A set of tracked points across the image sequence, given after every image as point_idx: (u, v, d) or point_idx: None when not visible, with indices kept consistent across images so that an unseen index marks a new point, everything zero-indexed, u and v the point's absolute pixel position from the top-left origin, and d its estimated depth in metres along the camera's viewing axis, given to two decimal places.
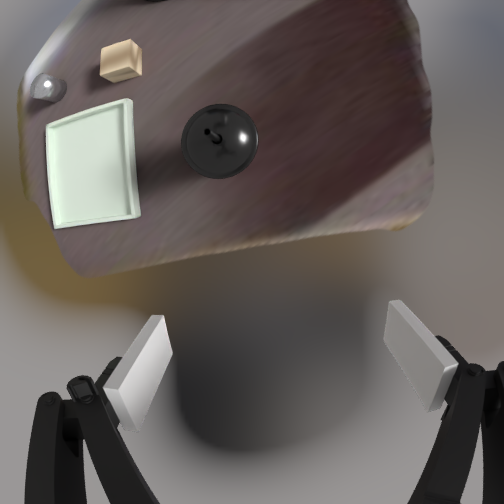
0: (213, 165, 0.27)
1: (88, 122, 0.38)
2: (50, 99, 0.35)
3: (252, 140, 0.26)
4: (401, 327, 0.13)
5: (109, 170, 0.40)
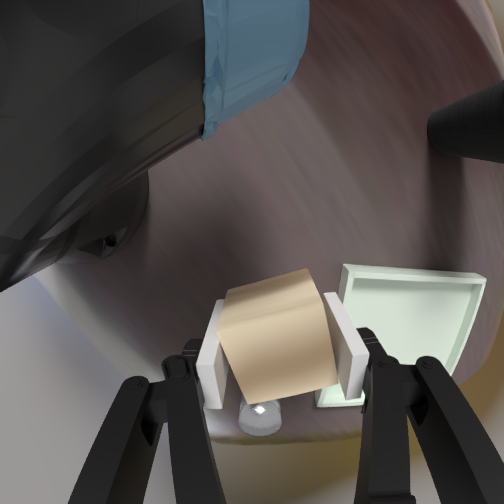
0: None
1: None
2: None
3: None
4: (330, 317, 0.15)
5: (423, 310, 0.28)
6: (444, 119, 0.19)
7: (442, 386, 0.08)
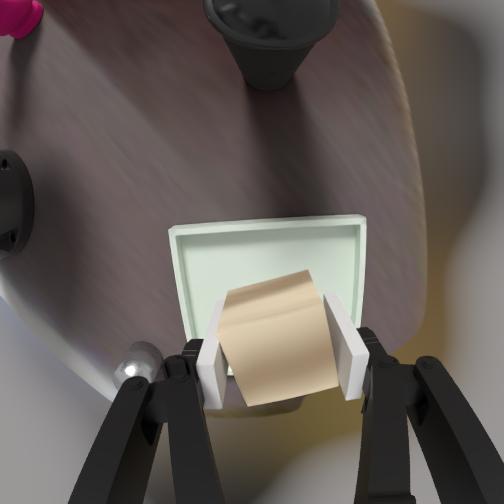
0: None
1: (200, 302, 0.30)
2: (156, 366, 0.31)
3: None
4: (329, 317, 0.15)
5: (284, 264, 0.29)
6: None
7: (442, 386, 0.08)
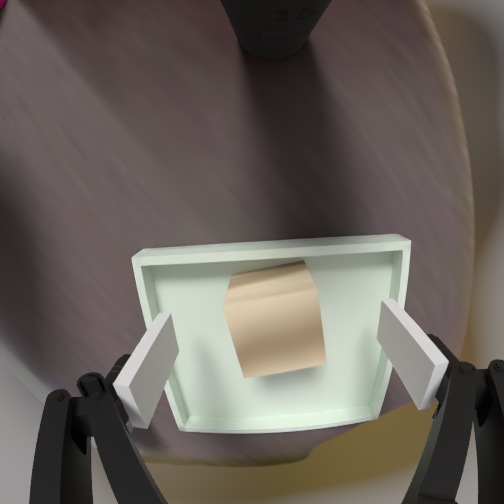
0: None
1: (182, 349, 0.22)
2: None
3: None
4: (393, 325, 0.14)
5: None
6: None
7: None
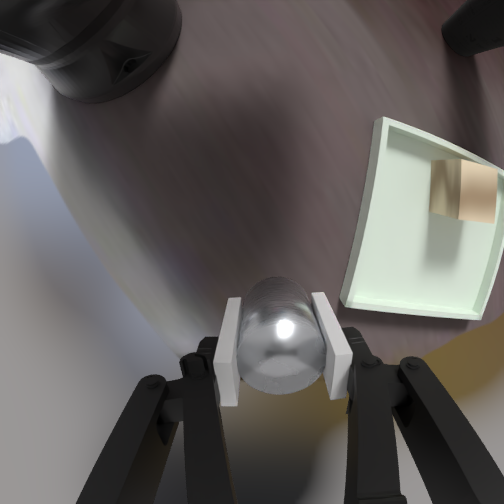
0: None
1: (380, 212, 0.24)
2: None
3: None
4: (317, 317, 0.16)
5: None
6: (456, 15, 0.15)
7: (428, 387, 0.08)
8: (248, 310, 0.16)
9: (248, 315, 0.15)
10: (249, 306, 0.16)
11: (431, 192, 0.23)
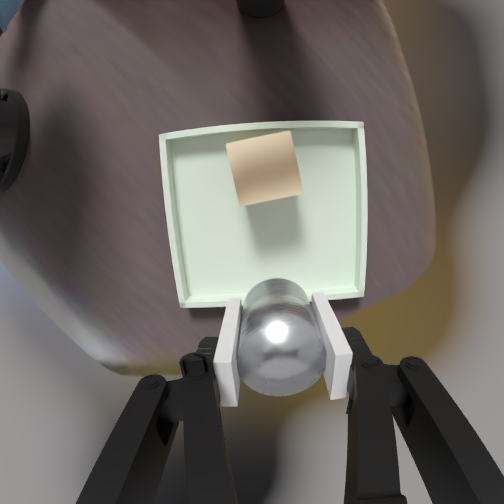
0: None
1: (189, 217, 0.27)
2: None
3: None
4: (317, 317, 0.16)
5: None
6: None
7: (428, 387, 0.08)
8: (248, 312, 0.15)
9: (248, 317, 0.15)
10: (249, 308, 0.16)
11: None
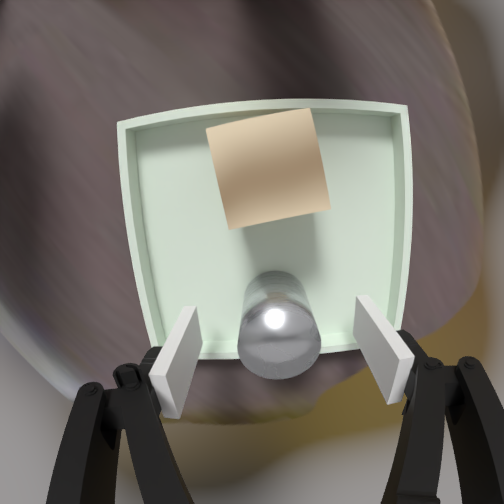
0: None
1: (161, 239, 0.19)
2: None
3: None
4: (365, 320, 0.14)
5: None
6: None
7: (480, 386, 0.07)
8: (248, 301, 0.17)
9: (248, 305, 0.16)
10: (249, 297, 0.17)
11: None
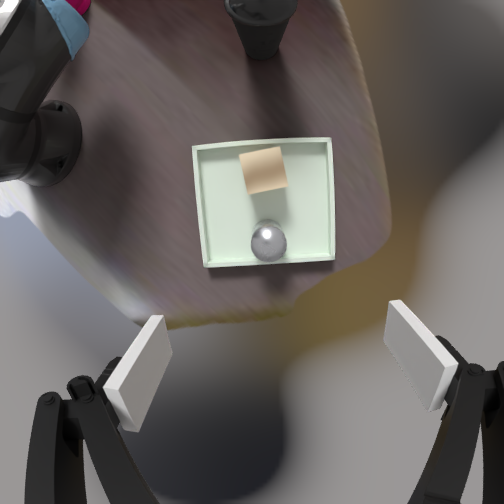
0: None
1: (212, 203, 0.40)
2: None
3: None
4: (401, 327, 0.13)
5: None
6: None
7: None
8: (255, 229, 0.38)
9: (255, 229, 0.37)
10: (255, 228, 0.38)
11: None
